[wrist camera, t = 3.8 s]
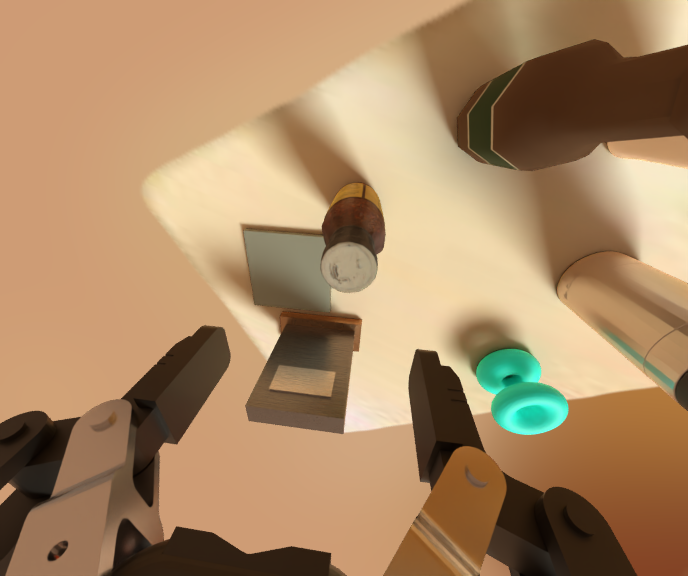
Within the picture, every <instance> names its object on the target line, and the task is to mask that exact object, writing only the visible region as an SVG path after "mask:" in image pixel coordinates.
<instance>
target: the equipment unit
mask: <svg viewBox="0 0 688 576" xmlns="http://www.w3.org/2000/svg"><path fill="white" fill-rule="evenodd" d="M280 323H281V335H280V337H279V339H278V341H277V343H276V345H275V347H274V349H273V351H272V353H271V355H270V357H269V359H268V361H267V363H266V365H265V367H264V369H263V371H262V374H261V375H260V377H259V380H258V381H257V383H256V385H255V387H254V389H253V391H252V393H251V395H250V397H249V399H248V401H247V404H246V405H245V406H246V411H247V415H248V419H249V421H254V422H261V423H268V424H275V425H282V426H289V427H297V428H304V429H311V430H319V431H325V432H333V433H340V434H343V433H344V425H345V416H346V407H347V398H348V390H349V381H350V372H351V364H352V355H353V351H358V352H359V344H360V334H361V324H362V320H360V319H351V318H341V317H332V316H322V315H313V314H304V313H294V312H285V311H283V312H282V313H281V315H280Z"/></svg>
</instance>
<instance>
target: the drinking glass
mask: <svg viewBox="0 0 688 576" xmlns="http://www.w3.org/2000/svg"><path fill="white" fill-rule="evenodd" d="M607 145H608V149H609V151H610V152H611V153H612V154H613V155H614V156H616V157H619V158H624V159H636V160H642V161H647V162H653V163H659V164H664V165H669V166H675V167H680V168H685V169H688V139H687V138H686V137H685V136H673V137H661V138H649V139H638V140H626V141H615V142H607Z"/></svg>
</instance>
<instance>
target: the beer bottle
mask: <svg viewBox="0 0 688 576" xmlns="http://www.w3.org/2000/svg"><path fill="white" fill-rule="evenodd" d="M457 128H458V147H459V148H461V149H462V150H463V151H465V152H466V153H467V154H469V155H470V156H471V157H473V158H474V159H475V160H477V161H478V162H481V163H485V164H490V165H495V166H500V167H505V168H510V169H515V170H521V171H533V170H538V169H542V168H546V167H550V166H555V165H559V164H563V163H568V162H572V161H576V160H578V159H580V158H583V157H585V156H587V155H589V154H590V153H591V152H592V151H593V150H594V149H595V148H596V147H597V146H598V145H599V144H600V143H603V142H615V141H626V140H638V139H649V138H661V137H673V136H685V137H686V138H687V139H688V45H685V46H681V47H677V48H673V49H669V50H665V51H661V52H656V53H652V54H648V55H644V56H640V57H629V58H623V57H622V56H621V55H620V54H619V53H618V52H617V51H616V50H615V49H614V48H613V47H612V46H611V45H610V44H609V43H607V42H603V41H599V40H595V39H594V40H591V41H587V42H584V43H581V44H578V45H575V46H572V47H568V48H565V49H562V50H559V51H556V52H553V53H549V54H546V55H543V56H540V57H537V58H535V59H532V60H529V61H527V62H525V63H523V64H521V65H519V66H517V67H515V68H514V69H512V70H510V71H508V72H506V73H504V74H503V75H501V76H499V77H497V78H495V79H493V80H491V81H490V82H488V83H486V84H484V85H482V86H481V87H480V88H478V89H477V90H476V91H475V93H474V94H473V96H472V97H471V99H470V100H469V102H468V103H467V104H466V106H465V107H464V109H463V110H462V112H461V113H460V115H459V116H458V117H457Z"/></svg>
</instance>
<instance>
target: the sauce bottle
mask: <svg viewBox="0 0 688 576" xmlns="http://www.w3.org/2000/svg"><path fill="white" fill-rule="evenodd" d="M322 232H323V238H324V242H325V245H326V247H325V249H324V251H323V254H322V258H321V264H320V269H321V273H322V275H323V277H324V279H325V280H326V282H327V283H328V284H329V285H330V286H331V287H332V288H334V289H336V290H337V291H340V292H344V293H352V292H359V291H361V290H363V289H365V288H366V287H368V286H369V285H370V284H371V283H372V281H373V280H374V279H375V277H376V274H377V266H378V263H377V255H376V254H378V253H380V252H381V251H382V250H383V248H384V241H385V235H386V234H385V222H384V217H383V212H382V208H381V204H380V200H379V197H378V195H377V194H376V192H375V191H374V190H373V189H372V188H371V187H369V186H368V185H366V184H364V183H352V184H348V185H346V186H344V187H343V188H342V189H341V190H340V191H339V192H338V193H337V194H336V196H335V198H334V200H333V202H332V204H331V206H330V207H329V210H328V212H327V214H326V216H325V219H324V222H323V224H322Z"/></svg>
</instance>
